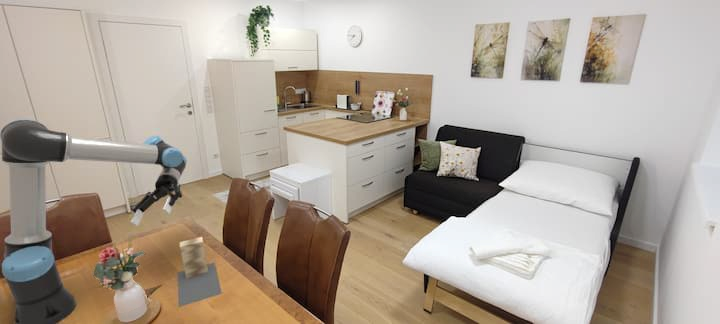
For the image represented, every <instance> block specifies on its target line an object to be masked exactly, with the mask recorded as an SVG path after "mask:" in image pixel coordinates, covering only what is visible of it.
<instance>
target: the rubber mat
mask: <svg viewBox="0 0 720 324" xmlns="http://www.w3.org/2000/svg"><path fill="white" fill-rule="evenodd" d="M207 267H208V272H206V273H202V274H199V275H195V276H192V277H188V278H186V274H185V269H184V270H181V271H177V275H176V276H177V299H178V300H177V301H178V302H177V303H178V308H180V307H181V308H182V307H185V306H187V305H189V304H193V303H196V302H199V301H203V300H205V299H209V298H211V297H215V296H219V295H221V294H222V293H223V292H222V289H221V285H220V280H219V275H218V271H217V266H216V262H215V261H214V262H211V263H207Z"/></svg>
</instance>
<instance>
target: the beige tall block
mask: <svg viewBox="0 0 720 324" xmlns="http://www.w3.org/2000/svg"><path fill="white" fill-rule="evenodd" d="M179 249H180V253H181V259H182V264H183V268H184V270H185V274H186V278H188V277H192V276H195V275H199V274H202V273H206V272H208V267H207V264H208V263H207V256H206V250H205V245H204V240H203V236H199V237H196V238H192V239H191V238H190V239H187V240H182V241H179Z"/></svg>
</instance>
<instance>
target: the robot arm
mask: <svg viewBox="0 0 720 324" xmlns="http://www.w3.org/2000/svg"><path fill="white" fill-rule="evenodd" d="M0 140H1V161H2V162H3V163H4V164H6V165H8V168H9V169H8V170H9V171H8V172H9V173H8V174H9V202H10V203H9V205H10V206H9V208H10V212H9V213H10V234H9V235H8V236H6V237H5V238H4V253H3V258H4V260H2V263H1V273H2V275H3V277H4V278H5V281H6V283H7V285H8V287H9V290H10V292H11V295H12V298H13V300H14V303H15V310H14V313H15V314H14V324H56V323H58V322H60V321H62V320H63V319H65V318H67V316H69V315H70V314H71V313H72V312H74V309H75V308H76V306H77V301H76V299H75V296H74V295H73V294H71V293H70V292H69V290H68V289H67V288H65V287H64V285H63V281H62V279H61V275H60V273H59V270H58V269H59V268H58V267H57V263H56V260H55V254H54V253H53V239H52V238H53V234H52V232H51V231H49V230H47V217H46V215H47V213H46V211H47V210H46V208H47V207H46V206H47V205H46V203H47V202H46V201H47V200H46V199H47V198H46V191H47V190H46V166H47V165H48V164H49V163H51V162H53V163H56V162H57V163H65V162H66V161H67V160H74V161H75V160H77V161H92V162H110V163H123V164H124V163H127V164H130V163H131V164H141V165H142V164H143V165H145V164H146V165H156V166H157V165H158V166H159V165H160V166H161V167H162V169H161V171H160V174H159V175H158V177H157V179H156V181H155V184H154V186H155V189H154V190H153V192H150V191H148V192H146V194H145V196H144V197H143V198H142V199H141V200H140V201H139V202H138V203H137V204H135V206H134V208H132V212H133V213H134V214H133V217H132V218H131V221H130V222H129V223H131V224H132V225H133V226H134V227H138V226H139V225H140V222H141V220H142V219H143V216H144V215H145V211H147V210H148V209H149V208H150V207H151V206H152V205H153V204H155V202H158V201H159V200H160V199H162V198H165V197H166V196H168V197H167V199H166V202H165V204H164V205H163V209H162V211H163V212H164V213H166V214H167V215H170V213H171V211H172V209H173V207H174V205H175V203H176V201H177V200H178V199H179V198H180V199H181V198H182V197H183V194H182V191H181V184H180V183H179V181H180V178H181V177H182V175H183V173H184V171H185V169H186V166H187V162H188V161H187V158H186V157H185V156H184V155H183V152H182V151H181V150H179V148H177V147H174V146H172V145H170V144H168V143H166V141H164V139H162V138H161V137H160V136H159V135H152V136H150V137H148V138H146V140H144V141H143V142H142V143H139V142H129V141H118V140H109V139H99V138H88V137H78V136H70V134H68V133H67V132H63V131H62V132H61V131H60V132H59V131H55V130H51V129H48V128H47V126H46V125H44V124H43V123H40V122H39V121H36V120H31V119H17V120H14V121H11V122H8V123H7V124H5V126H4V127H2V129H1V130H0ZM173 192H174V193H173Z"/></svg>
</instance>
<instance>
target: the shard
mask: <svg viewBox="0 0 720 324" xmlns="http://www.w3.org/2000/svg"><path fill="white" fill-rule="evenodd" d="M162 286H163V284H159V285H155V286H152V287H148V288H146V289H143V290H144V291H145V293H146V295H147V299H149V298H150V297H151V296H152V295H153V294H155V292H156V291H157V290H158V289H159V288H160V287H162Z"/></svg>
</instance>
